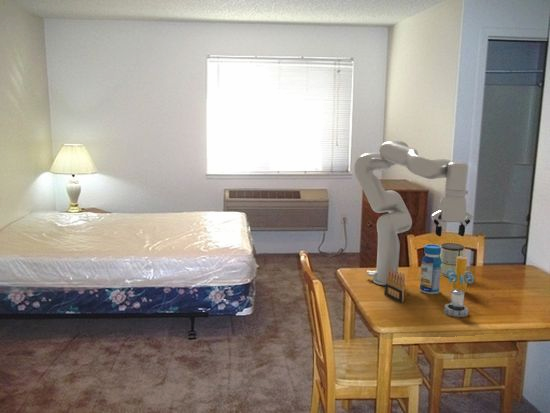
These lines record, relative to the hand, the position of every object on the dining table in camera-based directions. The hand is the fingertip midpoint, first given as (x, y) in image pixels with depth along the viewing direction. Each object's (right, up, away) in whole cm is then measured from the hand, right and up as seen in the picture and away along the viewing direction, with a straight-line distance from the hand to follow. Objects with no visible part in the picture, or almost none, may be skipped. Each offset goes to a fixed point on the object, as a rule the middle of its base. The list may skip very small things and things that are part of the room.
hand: (449, 235), depth 204 cm
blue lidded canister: (-3, -25, +16) cm, 30 cm away
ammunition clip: (-21, -27, +6) cm, 34 cm away
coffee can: (+14, -21, +40) cm, 48 cm away
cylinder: (+10, -25, +17) cm, 32 cm away
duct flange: (0, -29, -8) cm, 30 cm away
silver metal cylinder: (0, -29, -8) cm, 30 cm away
